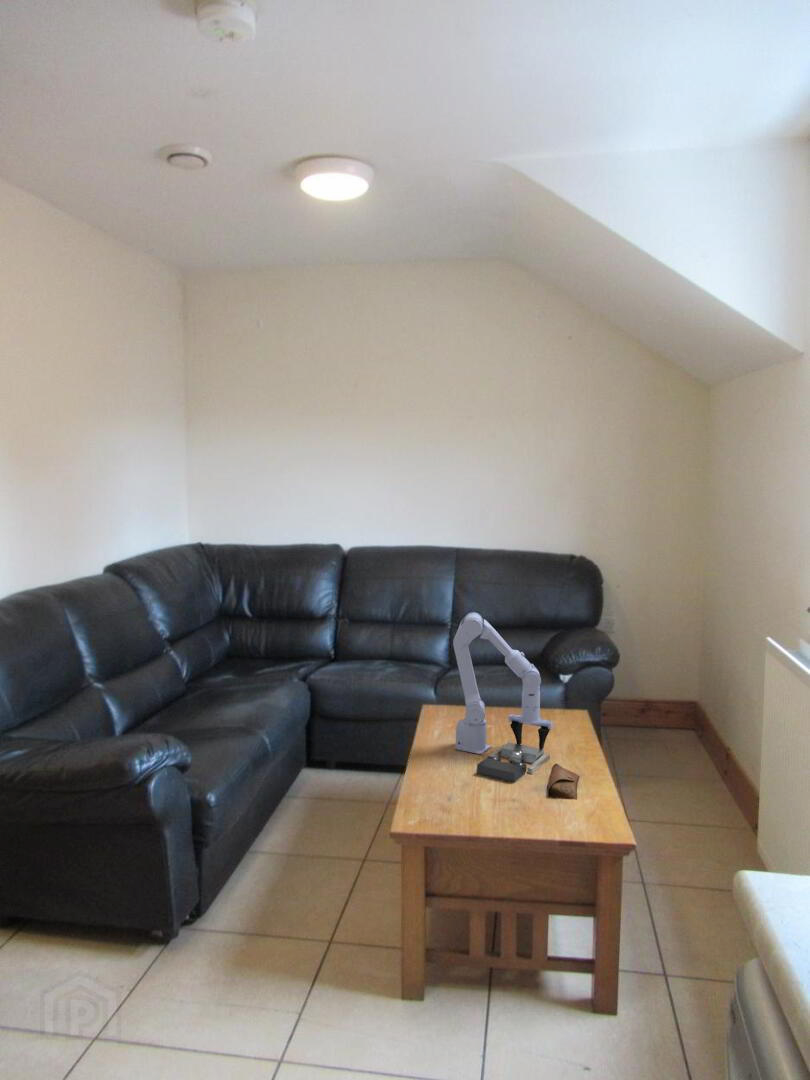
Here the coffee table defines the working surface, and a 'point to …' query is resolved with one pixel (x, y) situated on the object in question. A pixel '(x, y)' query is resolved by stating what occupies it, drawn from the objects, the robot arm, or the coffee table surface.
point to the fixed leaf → (501, 769)
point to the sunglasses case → (562, 783)
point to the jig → (533, 767)
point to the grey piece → (521, 753)
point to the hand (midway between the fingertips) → (530, 746)
